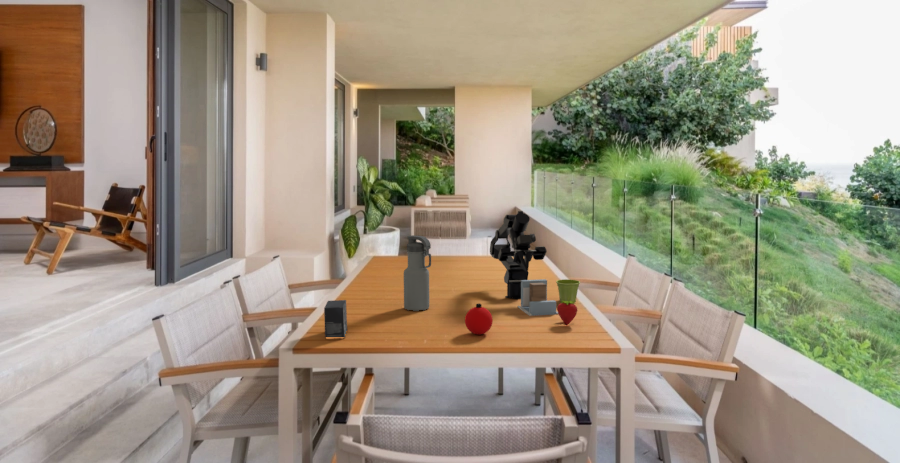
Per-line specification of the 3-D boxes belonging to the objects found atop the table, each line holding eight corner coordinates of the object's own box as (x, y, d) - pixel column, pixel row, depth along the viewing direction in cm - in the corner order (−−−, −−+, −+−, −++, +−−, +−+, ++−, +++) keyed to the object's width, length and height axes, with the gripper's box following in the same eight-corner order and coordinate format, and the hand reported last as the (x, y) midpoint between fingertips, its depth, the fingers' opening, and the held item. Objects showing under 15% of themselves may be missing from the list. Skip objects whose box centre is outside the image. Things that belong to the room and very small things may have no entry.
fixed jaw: (528, 313, 224) (528, 301, 223) (553, 312, 226) (553, 300, 225) (530, 315, 222) (530, 302, 221) (556, 313, 223) (556, 301, 223)
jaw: (520, 306, 233) (521, 280, 232) (544, 305, 235) (545, 279, 234) (522, 307, 231) (523, 281, 229) (547, 306, 232) (547, 280, 231)
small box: (327, 331, 204) (327, 300, 203) (347, 330, 205) (347, 299, 204) (324, 339, 194) (323, 307, 193) (345, 339, 194) (344, 306, 193)
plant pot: (579, 306, 239) (580, 284, 238) (555, 305, 241) (555, 283, 240) (579, 300, 248) (580, 279, 247) (556, 300, 250) (556, 279, 249)
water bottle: (434, 307, 238) (434, 235, 235) (423, 312, 229) (422, 238, 227) (411, 304, 243) (410, 234, 240) (399, 310, 234) (398, 236, 231)
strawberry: (564, 321, 215) (564, 293, 214) (581, 325, 210) (581, 296, 209) (552, 324, 212) (553, 295, 211) (569, 328, 206) (570, 299, 205)
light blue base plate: (517, 309, 234) (517, 305, 234) (545, 307, 236) (545, 304, 236) (529, 317, 221) (529, 314, 220) (559, 316, 223) (559, 312, 223)
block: (529, 309, 230) (529, 283, 229) (542, 308, 231) (542, 282, 230) (533, 311, 226) (533, 285, 225) (545, 311, 227) (546, 284, 226)
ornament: (494, 337, 195) (494, 306, 194) (466, 338, 195) (466, 307, 194) (490, 330, 204) (490, 300, 203) (463, 330, 204) (463, 301, 203)
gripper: (500, 227, 241) (508, 259, 232) (545, 226, 245) (555, 257, 235) (494, 244, 250) (502, 276, 240) (538, 243, 254) (547, 274, 244)
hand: (526, 270), depth 240 cm, fingers closed
